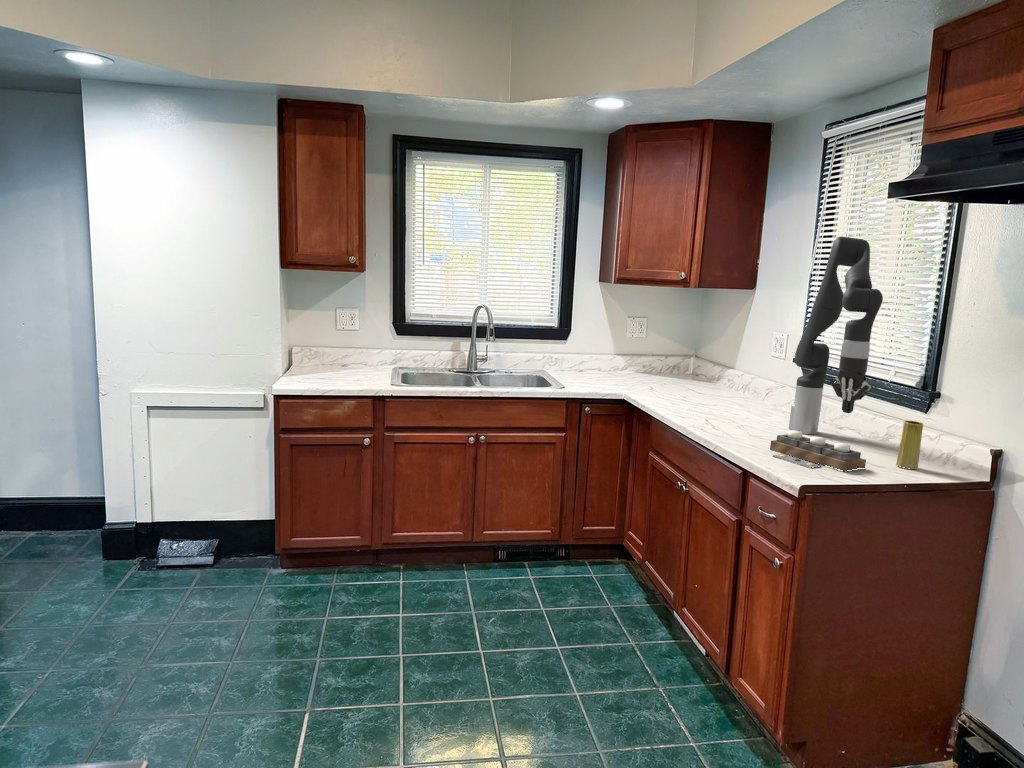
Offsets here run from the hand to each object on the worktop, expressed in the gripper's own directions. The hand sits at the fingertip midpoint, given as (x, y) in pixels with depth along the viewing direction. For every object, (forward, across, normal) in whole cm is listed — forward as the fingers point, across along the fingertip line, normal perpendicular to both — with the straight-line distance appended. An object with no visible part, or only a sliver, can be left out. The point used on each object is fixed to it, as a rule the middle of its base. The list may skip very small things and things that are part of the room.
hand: (846, 412), depth 208 cm
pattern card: (+17, +8, +9) cm, 21 cm away
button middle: (+12, +8, 0) cm, 15 cm away
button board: (+17, +8, 0) cm, 19 cm away
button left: (+12, +17, 0) cm, 21 cm away
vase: (+17, -8, -21) cm, 28 cm away
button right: (+12, 0, 0) cm, 12 cm away
